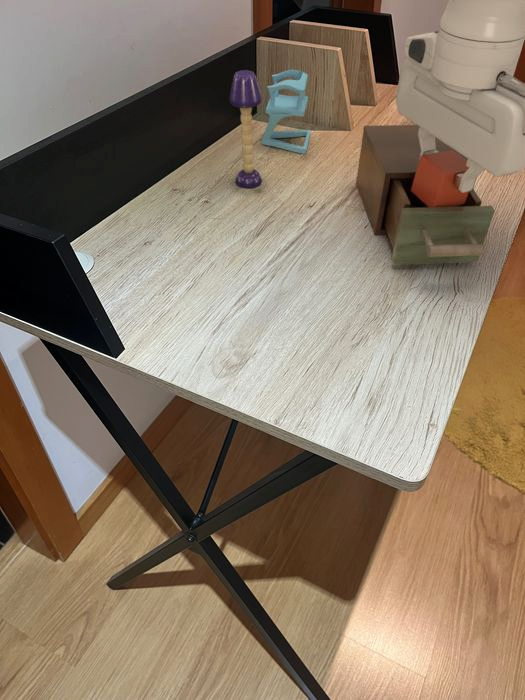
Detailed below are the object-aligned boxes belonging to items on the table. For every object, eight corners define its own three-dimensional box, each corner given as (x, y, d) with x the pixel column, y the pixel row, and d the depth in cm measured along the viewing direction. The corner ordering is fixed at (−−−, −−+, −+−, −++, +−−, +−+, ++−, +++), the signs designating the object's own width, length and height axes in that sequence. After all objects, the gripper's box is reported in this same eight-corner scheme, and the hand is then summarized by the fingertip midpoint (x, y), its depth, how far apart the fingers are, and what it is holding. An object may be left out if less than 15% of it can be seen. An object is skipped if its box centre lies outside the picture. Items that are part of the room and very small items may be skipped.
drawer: (490, 285, 73) (509, 232, 67) (402, 288, 72) (414, 235, 66) (447, 208, 86) (460, 159, 80) (372, 210, 85) (380, 161, 79)
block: (410, 190, 75) (420, 155, 71) (441, 184, 76) (452, 149, 73) (432, 211, 72) (444, 175, 68) (464, 204, 73) (477, 168, 70)
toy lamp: (232, 188, 91) (229, 79, 79) (231, 174, 94) (228, 67, 82) (262, 188, 91) (264, 78, 79) (260, 173, 94) (261, 66, 82)
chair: (265, 131, 106) (267, 62, 97) (310, 135, 105) (315, 66, 96) (259, 150, 100) (259, 78, 92) (306, 154, 99) (311, 82, 91)
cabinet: (460, 232, 83) (478, 170, 76) (374, 235, 82) (385, 173, 75) (432, 182, 93) (446, 124, 86) (355, 184, 92) (363, 125, 85)
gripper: (569, 87, 56) (522, 211, 66) (440, 28, 69) (417, 139, 79) (520, 97, 54) (479, 223, 64) (397, 35, 67) (379, 147, 77)
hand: (444, 176), depth 72 cm, fingers open, 6 cm apart
